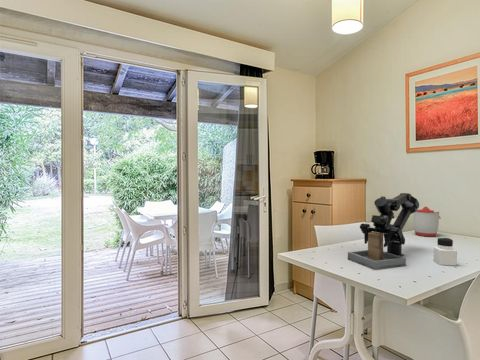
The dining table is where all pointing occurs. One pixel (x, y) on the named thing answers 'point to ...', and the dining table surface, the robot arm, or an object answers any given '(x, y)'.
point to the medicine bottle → (445, 252)
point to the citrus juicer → (426, 222)
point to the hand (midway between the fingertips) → (374, 245)
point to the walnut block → (375, 246)
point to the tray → (387, 261)
